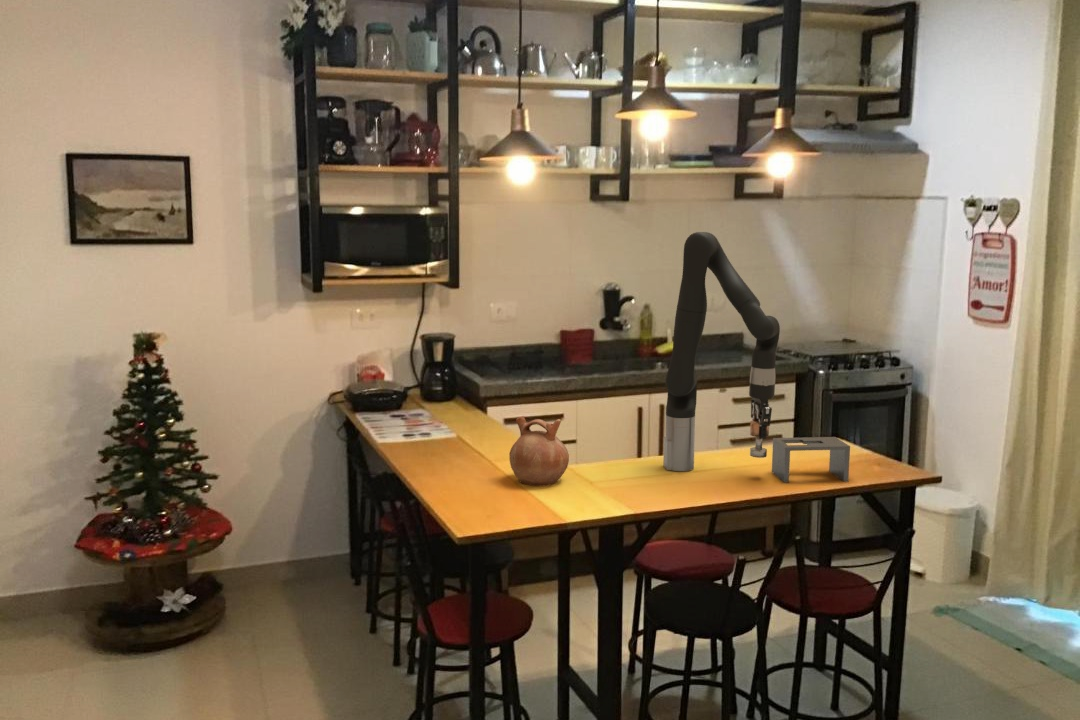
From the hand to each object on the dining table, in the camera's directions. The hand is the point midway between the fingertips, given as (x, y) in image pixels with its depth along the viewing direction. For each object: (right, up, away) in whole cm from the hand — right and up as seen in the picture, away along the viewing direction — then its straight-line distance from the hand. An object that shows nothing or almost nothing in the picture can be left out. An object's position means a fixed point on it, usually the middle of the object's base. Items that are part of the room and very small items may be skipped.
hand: (759, 435), depth 295 cm
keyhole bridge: (+16, -13, +3) cm, 21 cm away
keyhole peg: (0, -6, +1) cm, 6 cm away
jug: (-67, -14, 0) cm, 69 cm away
